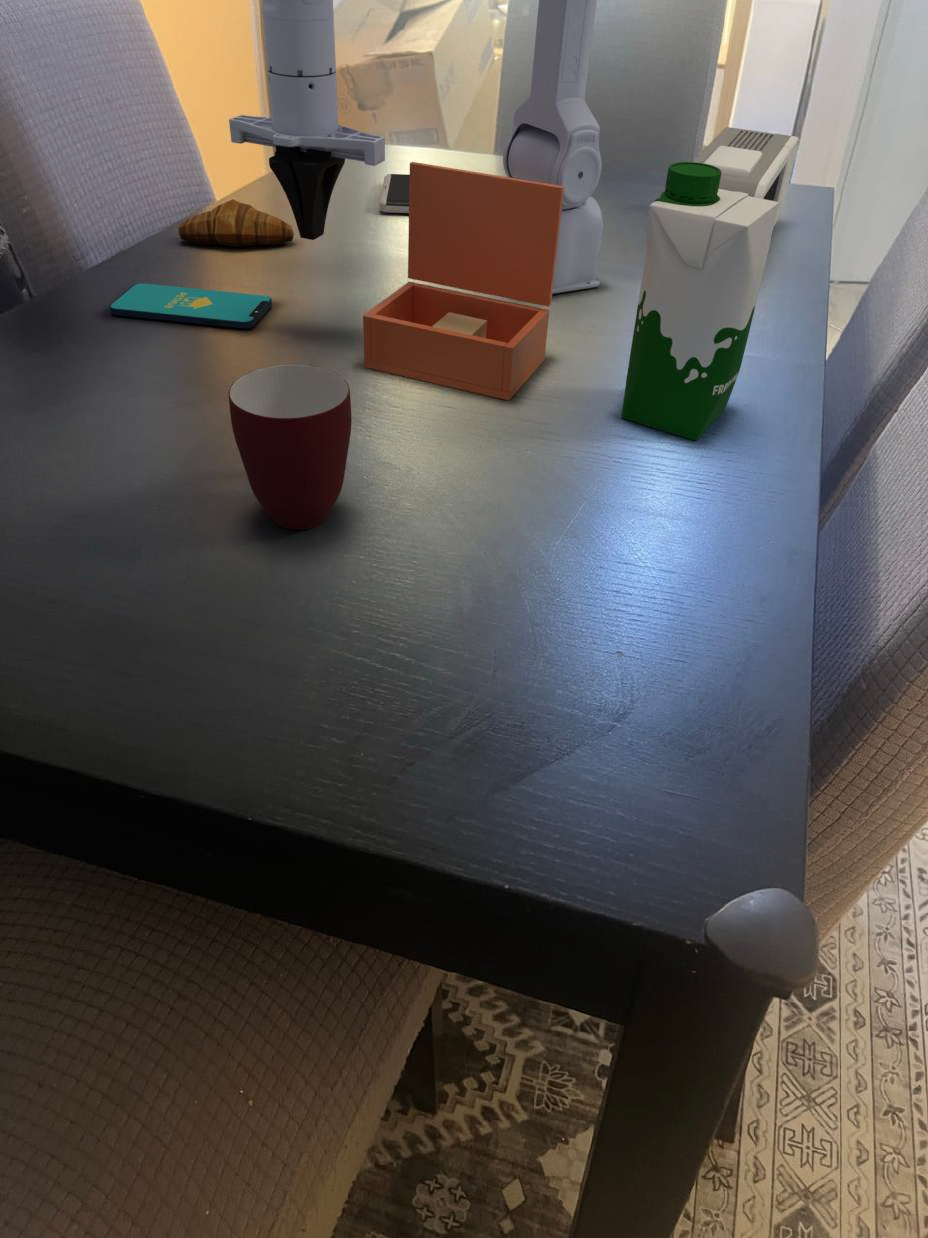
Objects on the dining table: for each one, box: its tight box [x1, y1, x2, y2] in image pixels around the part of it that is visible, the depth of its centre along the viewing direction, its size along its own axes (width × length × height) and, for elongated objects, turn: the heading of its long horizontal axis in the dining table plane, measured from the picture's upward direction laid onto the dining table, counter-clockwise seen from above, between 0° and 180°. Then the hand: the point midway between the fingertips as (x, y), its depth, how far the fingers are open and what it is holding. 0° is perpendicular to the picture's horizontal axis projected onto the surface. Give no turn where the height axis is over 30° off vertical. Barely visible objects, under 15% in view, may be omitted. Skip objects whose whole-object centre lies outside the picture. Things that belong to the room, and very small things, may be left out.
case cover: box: [407, 161, 564, 307], centre depth 87 cm, size 10×15×1 cm
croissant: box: [177, 199, 295, 247], centre depth 112 cm, size 14×7×5 cm, turn 94°
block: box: [432, 312, 487, 338], centre depth 89 cm, size 5×4×3 cm
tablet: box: [378, 173, 410, 214], centre depth 129 cm, size 13×27×2 cm, turn 90°
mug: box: [228, 363, 352, 531], centre depth 68 cm, size 11×8×10 cm
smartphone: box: [109, 283, 273, 329], centre depth 97 cm, size 7×1×15 cm
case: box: [362, 281, 550, 401], centre depth 89 cm, size 10×15×5 cm, turn 67°
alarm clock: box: [692, 126, 800, 227], centre depth 116 cm, size 27×9×12 cm, turn 157°
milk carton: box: [620, 161, 779, 442], centre depth 78 cm, size 9×9×20 cm
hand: (312, 235), depth 89 cm, fingers closed
